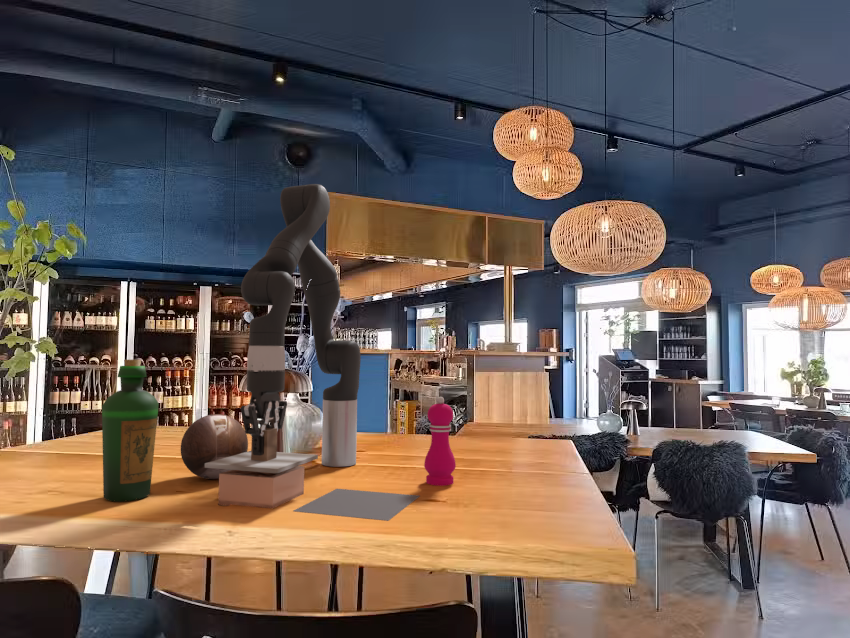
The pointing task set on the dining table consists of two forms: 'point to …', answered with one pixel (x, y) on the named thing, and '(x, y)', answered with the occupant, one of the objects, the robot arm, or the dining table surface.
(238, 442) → the brown ball
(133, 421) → the bottle
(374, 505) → the mat
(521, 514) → the dining table surface
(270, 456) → the lid
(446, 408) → the pepper mill
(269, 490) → the pink storage bin
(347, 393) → the robot arm
